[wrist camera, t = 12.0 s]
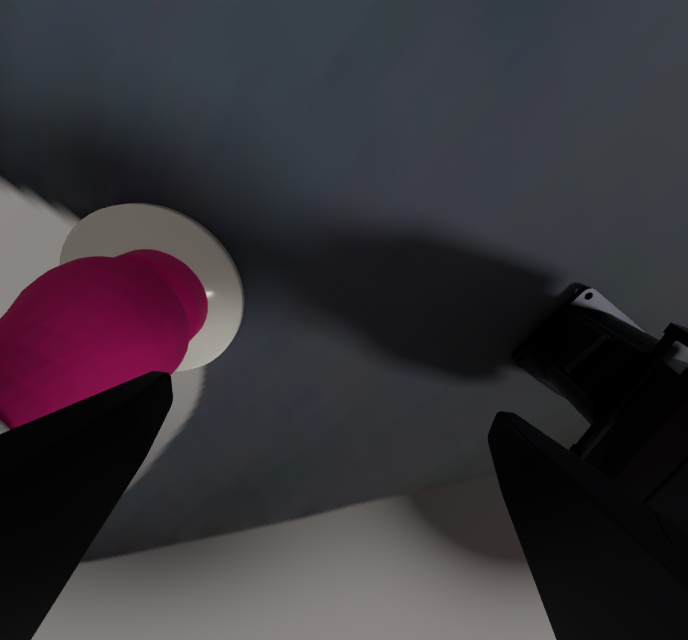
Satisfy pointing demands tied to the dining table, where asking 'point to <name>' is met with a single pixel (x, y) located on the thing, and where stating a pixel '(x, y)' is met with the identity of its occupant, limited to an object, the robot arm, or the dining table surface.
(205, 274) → the saucer
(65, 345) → the pepper mill
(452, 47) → the dining table surface
